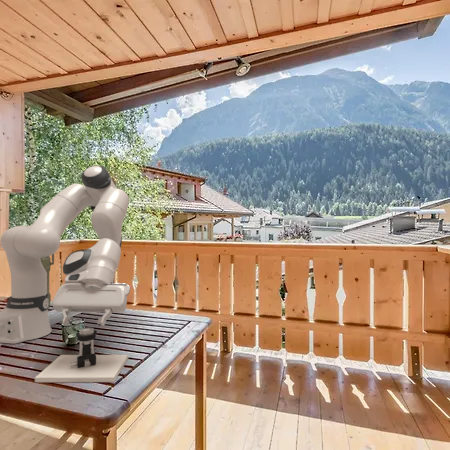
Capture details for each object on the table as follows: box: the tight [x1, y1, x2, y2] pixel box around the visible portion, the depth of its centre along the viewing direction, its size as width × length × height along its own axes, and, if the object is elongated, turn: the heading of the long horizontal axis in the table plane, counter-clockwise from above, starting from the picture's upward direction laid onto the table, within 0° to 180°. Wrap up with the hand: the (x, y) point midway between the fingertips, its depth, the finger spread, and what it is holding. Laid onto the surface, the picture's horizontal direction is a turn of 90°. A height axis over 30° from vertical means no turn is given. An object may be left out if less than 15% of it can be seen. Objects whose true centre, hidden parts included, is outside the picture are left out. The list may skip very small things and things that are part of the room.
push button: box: [71, 326, 98, 368], centre depth 90 cm, size 7×5×10 cm
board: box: [34, 354, 129, 383], centre depth 90 cm, size 20×14×1 cm
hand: (83, 324), depth 89 cm, fingers open, 8 cm apart
